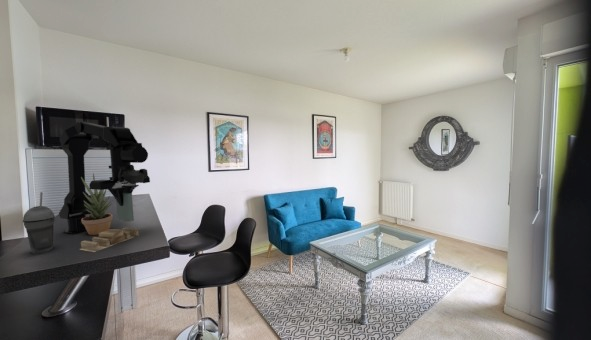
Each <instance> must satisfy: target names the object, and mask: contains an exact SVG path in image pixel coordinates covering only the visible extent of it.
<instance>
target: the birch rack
mask: <svg viewBox="0 0 591 340" xmlns="http://www.w3.org/2000/svg"><path fill="white" fill-rule="evenodd" d="M121 230H123V234H124V235H125V240H124V241H121V242H118V243H116V244H113V245H110V241H109V239H106V238H99V236H98V237H96V236H93V237H92V238H91V240H92V241H90V240H82V241H80V247H81V248H79V250H80V251H81V250H82V251H86V252H93V253H96V252H99V251H101V250H104V249H107V248H110V247H112V246H115V245H118V244H120V243H123V242H125V241H128V240H130V239H133V238H136V237H139V236H140V234H139V229H138V228H133V227H122V228H121Z"/></svg>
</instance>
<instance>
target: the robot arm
mask: <svg viewBox="0 0 591 340" xmlns="http://www.w3.org/2000/svg"><path fill="white" fill-rule="evenodd" d="M94 136H96V137H100V138H102V139H103V141H105V142H107V143H109V145H108V146H107V147H106V150H107V151H108V150H109V153H110V156H109V157H110V165H108V169H110V170H111V176H110V177H109V179H95V180H94V181H93V180H91V181H90V182H89V185H88V187H89V188H90V189H91V190H94V189H95V190H97V191H98V190H99V191H100V190H104V191H105V190H108V192H109V193H110V194H112V196H113V197H114V199H115V201H116V200H117V202H118V203H119V205H120V206H123V193H132V194H133V192H134V190H135V189H136V188H137V187H139V186H140V185H139V184H147V183H151V179H150V176H149V175H148V169H146V168H139V169H135V166H134V164H139V163H140V164H141V163H145V162H146V161H147V160H148V158H149V153H148V151H147V149H146V148H145V147H144V146H143V143H142V142H138V140H137V139H136V137H135V135H134V134H133V133H132V131H131V129H130V128H129V127H122V126H121V127H120V126H105V125H102V124H101V125H100V124H96V123H93V122H90V121H77V122H76V123H75V124H74V125H73V126H71V127H68V128H67V129H65V130H63V132H62V133H61V135H60V136H59V143H60V146H61V150H63V152H64V153H65V154H66V155H67V167H68V170H67V171H68V173H67V174H68V187H69V191H68V193H67V194H66V196H65V198H64V199H63V200H64V201H63V205H62V207H61V209H60V210H59V213H58V215H59V218H60V219H65V220H66V226H67V229H65V230H63V233H66V234H79V233H82V232H84V231H87V230H86V228H85V226H84V224H82V221H81V219H82V218H85V217H87V215H89V214H90V215H92V214H91V213H89V212H88V211H87V210H89V209H88V208H87V207H86V206H87V205H86V204H85V203H84V201H85V202H87V203H88V204H91V205H92V203H91V202H90V201H89V200H88V199H87V198H86V196H85V195H84V193H85V194H86V195H87V196H88V197H90V198H91V195H90V193H89V192H88V191H86V190H87V189H86V187H85V185H84V183H83V181H82V179H81V177H82V178H83V180H84V181H85V182H86V172H85V171H86V170H85V169H86V168H85V155H86V153H87V152H88V151H89V149H90V143H91V142H92V141H93V139H94ZM131 163H133V164H131ZM83 192H84V193H83ZM84 204H85V205H86V206H85V205H84ZM86 209H87V210H86ZM89 211H91V210H89Z"/></svg>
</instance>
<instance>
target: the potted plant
mask: <svg viewBox="0 0 591 340" xmlns="http://www.w3.org/2000/svg"><path fill="white" fill-rule="evenodd" d="M92 178H93V179H92V181H94V180H96V178H95V174H94V172H92ZM81 179H82V181H83V183H84V185H85V189H86V190H87V193H88V194H89V195H91V198H90V197H88V196H87V195H86V194H85V193H84V192H83V193H84V195H85V196H86V198H87V199H88V200H89V201H90V202H91V203H92V205H91V204H88V203H87V202H85V201H84V203H85V204H86V205H87V206H86V205H85V204H84V205H85V206H86V207H87V208H88V209H89V210H91V211H89V210H87V209H86V210H87V211H88V212H89V213H91V214H88V216H87V215H86V217H85V218H82V219H81V221H82V224H84V226H85V228H86V230H85V231H87V234H88V235H90V236H95V235H99V233H101V232H103V231H106V230H109V229H111V222H112V220H113V219H114V218H113V213H109V212H108V211H107V210H108V209H109V208H110V207H111V205H112V204H113V203H111V201H109V202H108V200H109V199H110V196H111V195H109V196H107V198H106V199H105V197H106V193H107V189H104V190H99V192H98V190H95V189H93V190H94V191H92V189H90V186H89V185H88V184H87V182H86V180H85V181H84V180H83V178H82V177H81ZM107 202H108V203H107ZM106 211H107V212H106Z"/></svg>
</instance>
